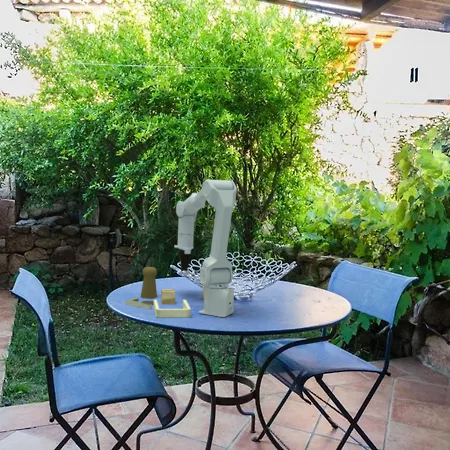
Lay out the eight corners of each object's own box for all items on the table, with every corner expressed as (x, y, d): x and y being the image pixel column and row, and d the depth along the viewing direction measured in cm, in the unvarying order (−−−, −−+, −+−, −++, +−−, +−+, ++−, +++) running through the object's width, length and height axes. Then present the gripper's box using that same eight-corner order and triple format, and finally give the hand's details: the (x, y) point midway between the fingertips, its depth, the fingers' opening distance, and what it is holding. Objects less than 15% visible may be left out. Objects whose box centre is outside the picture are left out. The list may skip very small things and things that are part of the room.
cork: (158, 295, 187) (159, 266, 186) (155, 299, 181) (156, 269, 180) (143, 294, 188) (143, 265, 187) (138, 298, 182) (139, 268, 181)
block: (175, 304, 175) (175, 292, 174) (162, 304, 174) (162, 292, 174) (173, 301, 179) (174, 289, 179) (161, 301, 178) (161, 289, 178)
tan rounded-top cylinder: (218, 298, 186) (219, 285, 186) (212, 301, 182) (213, 288, 181) (206, 296, 188) (207, 283, 188) (200, 299, 184) (200, 286, 183)
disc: (160, 302, 176) (160, 302, 176) (150, 306, 170) (150, 305, 170) (145, 300, 178) (145, 299, 178) (136, 303, 173) (136, 303, 173)
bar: (158, 306, 172) (158, 301, 171) (149, 309, 167) (149, 305, 167) (135, 301, 176) (135, 297, 176) (125, 304, 171) (125, 300, 171)
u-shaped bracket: (190, 317, 159) (190, 309, 159) (156, 317, 157) (156, 309, 157) (185, 306, 172) (185, 299, 172) (153, 307, 170) (153, 299, 170)
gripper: (173, 231, 191) (171, 266, 193) (177, 236, 177) (175, 273, 178) (191, 232, 193) (189, 266, 194) (196, 236, 179) (195, 274, 180)
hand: (184, 270), depth 186 cm, fingers closed
